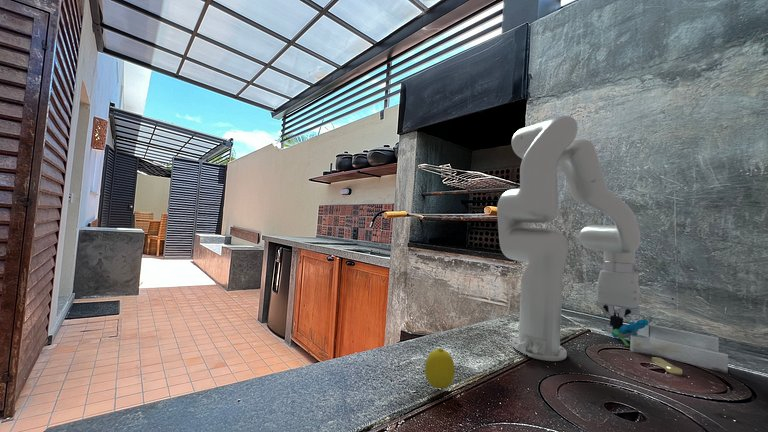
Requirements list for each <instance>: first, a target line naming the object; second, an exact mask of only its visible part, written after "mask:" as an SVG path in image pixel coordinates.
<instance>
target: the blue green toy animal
mask: <svg viewBox="0 0 768 432" xmlns="http://www.w3.org/2000/svg"><path fill="white" fill-rule="evenodd" d="M648 324H650V323H649V320H648V319H647V318H644V319H641V318H640V319H638V321H637V322H636V323H635V320H634V321H631V322H628V324H623V326H621V328H620V329H614V330H613V329H611V330H612V332H611V336H612V337H613V338H614V339H616V338H617V339H619V340H621V341H622V342H623V344H624V345H625V346H626V347H630V343H628V342H627V341H626V339H625V338H629V337H630V335H635V336H639V335H637V334H638V333H637V331H639V330H638V329H642V328H645V327H646V325H648Z"/></svg>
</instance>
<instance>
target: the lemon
mask: <svg viewBox="0 0 768 432" xmlns="http://www.w3.org/2000/svg"><path fill="white" fill-rule="evenodd" d="M424 366H425V367H424V370H425V371H424V372H425V376H426V380H427V382H428V383H429V384H430V385H431V387H433V388H435V387H436V388H441V389H442V390H443V389H444V388H445V389H447V388H448V387H450V385H452V383H453V381H454V379H455V374H456V371H455V370H456V369H455V363H454V359H453V357H452V356H451V354H450V353H449V352H447V351H446V350H445V349H444V348H441V347H438V348H437V349H434V350H432V351H430V353H429V354H428V355H427V358H426V361H425V365H424ZM436 388H435V389H436Z"/></svg>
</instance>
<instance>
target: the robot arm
mask: <svg viewBox="0 0 768 432" xmlns="http://www.w3.org/2000/svg"><path fill="white" fill-rule="evenodd" d="M578 128H579V127H578V123H577V120H576V119H575V118H574V117H573V116H570V115H561V116H555V117H552V118H549V119H545V120H542V121H540V122H536V123H533V124H531V125H528V126H525V127H522V128H519V129H518V130H517V131H516V132H515V133H513V136H512V138H511V141H510V142H511V147H512V150H513V152H514V154H515V155H516V156H517V157H519V158H520V159H521V163H520V166H519V167H520V168H519V188H510V189H508V190H506V191H505V192H503V193H502V194H501V195H500V197H499V199H498V202H497V207H496V214H497V216H496V217H497V231H498V241H499V246H500V250H501V252H502V254H503V255H504V256H505V257H506V258H507V259H509V260H513V261H517V262H522V263H527V267H526V269H525V270H524V271H523V274H522V276H521V279H520V295H519V296H520V297H519V298H520V300H519V318H518V319H519V320H518V321H519V322H518V325H519V326H518V337H515V338H513V339H512V340H511V347H512V348H513V347H514V348H515V349H516V350H518V351H520V352H522V353H525V354H527V355H528V356H527V357H528V358H532V359H536V360H540V361H546V362H559V361H563V360H565V359H566V358H567V356H568V354H567V353H568V352H567V350H566V349H565V348H564V347H562V346H561V330H562V328H561V323H562V322H561V320H562V304H563V303H562V301H563V300H562V299H563V297H562V296H563V280H564V279H563V277H564V276H563V275H564V269H565V266H566V261H567V258H568V254H569V243H568V239H567V238H566V236H565V235H564V234H563V233H562V232H560V231H558V230H556V229H552V228H545V227H527V223H528V224H545V223H550V222H553V221H554V220H555V219H556V218H557V217H558V213H559V210H560V209H559V208H560V207H559V205H560V204H559V190H558V189H559V188H558V173H560V174H561V173H564V177H565V179H566V182H567V185H568V188H569V191H570V194H571V197H572V199H573V200H574V201H575V202H578V203H580V204H582V205H584V206H587V207H589V208H592V209H595V210H596V211H599V212H601V213H603V214H604V215H606V216H607V217H608V218H609V219H610V220H612V222H613V224H614V225H610V224H608V225H606V224H600V225H599V224H591V225H587V226H585V227H584V228H582V229H581V230H580V232H579V234H578V240H579V243H580V244H581V246H583V247H584V248H585V249H588V250H591V251H597V252H598V251H599V252H603V263H602V264H603V265H602V269H601V270H600V271H599V273H598V279H597V286H596V301H595V306H596V307H598V308H601V309H604V310H605V311H606V312H607V313H608V314H609V317H610V319H609V326H611V327H612V330H614V329H620V328H621V326H623V325H624V318H625V317H626V316H627V315H630V314H640V313H641V309H640V302H641V295H640V294H641V293H640V292H641V291H640V290H641V288H640V279H639V274H637V273H636V272H638V271H639V272H641V271H642V266H640V265H637V264H636V251H637V250H638V249H639V248H640V245H641V239H642V238H641V231H640V227H639V224H638V221H637V218H636V215H635V213H634V211H633V210H632V209H631V208H630V206H628V204H627V203H626V202H624V200H622V198H620V197H619V196H617V195H616V194H615V193H613V192H611V191H610V190H609V188H608V187H607V184H606V180H605V177H604V173H603V170H602V167H601V163H600V160H599V157H598V156H599V155H598V153H597V149H596V146H595V145H594V144H593V142H592V141H590V140H588V139H576V138H577V136H578V135H577V133H578V130H579V129H578ZM615 307H619V308H620V309H619V313H616V311H615V310H616V309H615ZM514 348H513V349H514ZM515 349H514V350H515ZM516 350H515V351H516ZM518 351H517V352H518ZM520 352H519V353H520Z"/></svg>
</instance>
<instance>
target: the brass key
mask: <svg viewBox="0 0 768 432" xmlns="http://www.w3.org/2000/svg"><path fill="white" fill-rule="evenodd" d="M651 362H652V363H654V364H656V365H658V366H659V367H661V368H663V369H664V370H665V371H666V372H667V373H670V374H672V375H676V376H683V369H682V368H681V367H679V366H675V365H673V364H671V363H670V362H669V361H667V360H664V359H663V358H662V357H659V356H656V357H654V356H651Z"/></svg>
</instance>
